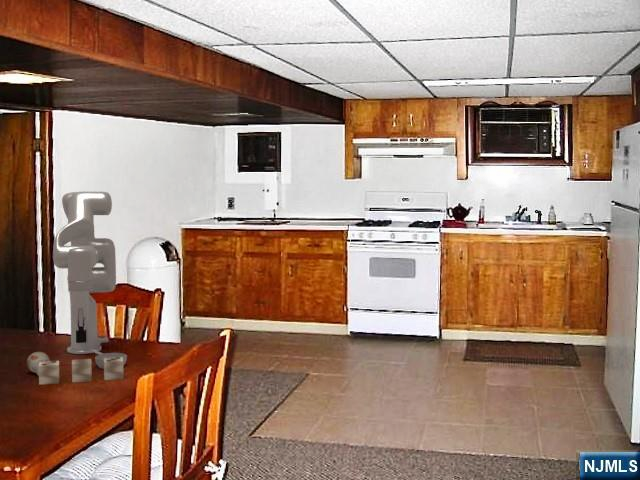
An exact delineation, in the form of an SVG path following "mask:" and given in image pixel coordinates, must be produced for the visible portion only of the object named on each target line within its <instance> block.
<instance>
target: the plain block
mask: <svg viewBox="0 0 640 480" xmlns="http://www.w3.org/2000/svg"><path fill="white" fill-rule="evenodd" d="M92 371H93V370H92V358H83V359H82V358H80V359H72V360H71V381H72V383H84V382H86V383H87V382H92V380H93V379H92V378H93V377H92V376H93V375H92Z"/></svg>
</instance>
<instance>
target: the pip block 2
mask: <svg viewBox="0 0 640 480" xmlns="http://www.w3.org/2000/svg"><path fill="white" fill-rule="evenodd" d="M124 375H125V374H124V366H123V357H113V358H104V369H103V379H104V381H112V380H124V377H125V376H124Z"/></svg>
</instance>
